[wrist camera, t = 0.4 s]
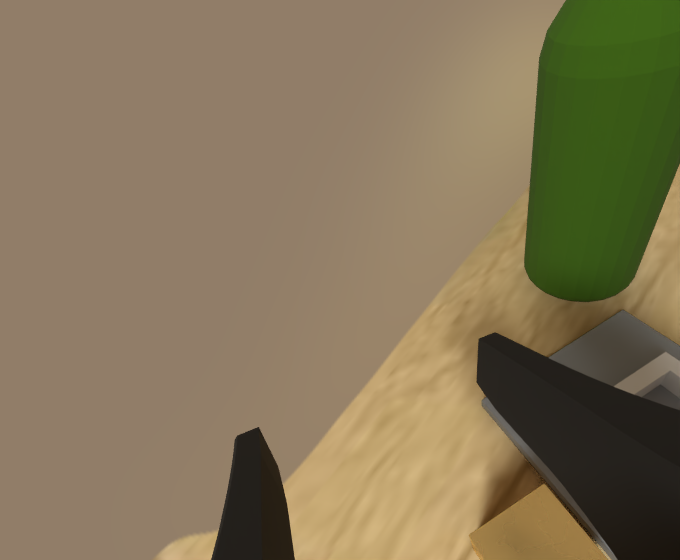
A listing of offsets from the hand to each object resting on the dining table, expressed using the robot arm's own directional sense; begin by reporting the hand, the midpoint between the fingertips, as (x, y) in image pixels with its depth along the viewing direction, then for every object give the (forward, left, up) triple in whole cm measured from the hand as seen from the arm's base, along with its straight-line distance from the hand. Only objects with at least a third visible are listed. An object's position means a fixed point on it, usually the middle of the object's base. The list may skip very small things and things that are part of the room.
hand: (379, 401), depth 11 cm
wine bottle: (+11, -23, -19) cm, 32 cm away
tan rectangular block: (-4, -3, -19) cm, 20 cm away
